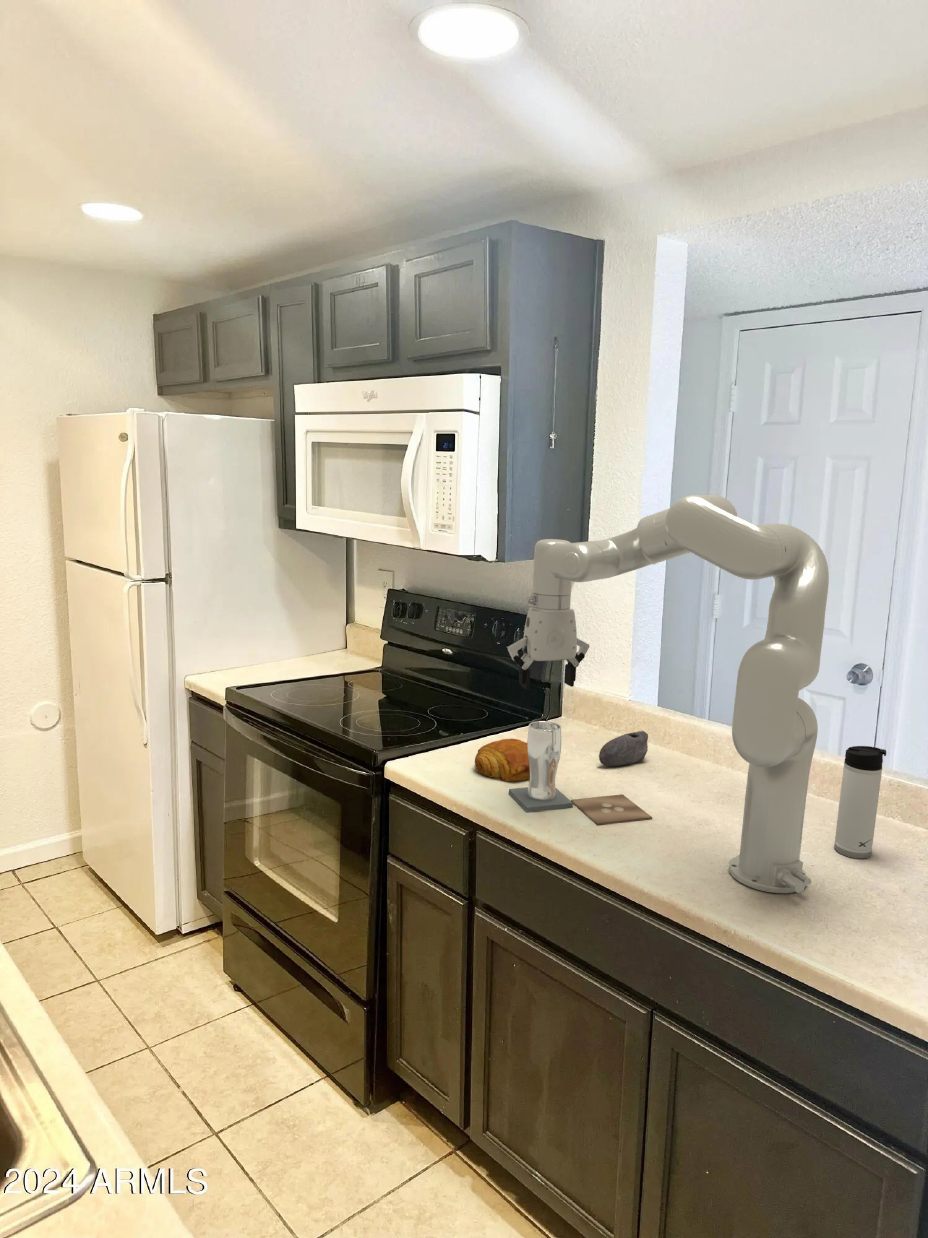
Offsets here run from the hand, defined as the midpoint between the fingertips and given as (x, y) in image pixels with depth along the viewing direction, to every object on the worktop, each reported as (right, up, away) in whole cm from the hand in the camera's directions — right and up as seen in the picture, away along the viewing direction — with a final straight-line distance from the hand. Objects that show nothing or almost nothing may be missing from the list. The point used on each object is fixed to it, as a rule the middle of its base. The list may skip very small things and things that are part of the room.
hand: (547, 686), depth 168 cm
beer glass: (-1, -23, +4) cm, 24 cm away
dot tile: (+13, -25, 0) cm, 28 cm away
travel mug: (+55, -29, -15) cm, 64 cm away
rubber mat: (-1, -24, +4) cm, 24 cm away
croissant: (-6, -21, +21) cm, 30 cm away
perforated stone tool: (+20, -21, +28) cm, 40 cm away
